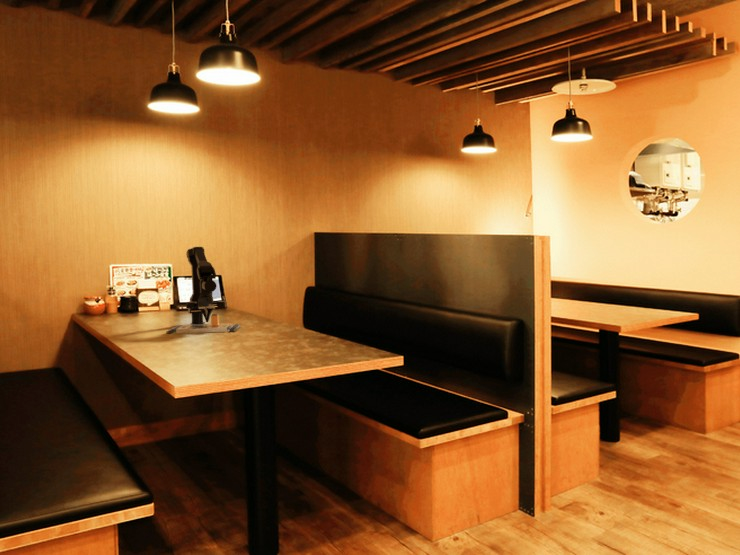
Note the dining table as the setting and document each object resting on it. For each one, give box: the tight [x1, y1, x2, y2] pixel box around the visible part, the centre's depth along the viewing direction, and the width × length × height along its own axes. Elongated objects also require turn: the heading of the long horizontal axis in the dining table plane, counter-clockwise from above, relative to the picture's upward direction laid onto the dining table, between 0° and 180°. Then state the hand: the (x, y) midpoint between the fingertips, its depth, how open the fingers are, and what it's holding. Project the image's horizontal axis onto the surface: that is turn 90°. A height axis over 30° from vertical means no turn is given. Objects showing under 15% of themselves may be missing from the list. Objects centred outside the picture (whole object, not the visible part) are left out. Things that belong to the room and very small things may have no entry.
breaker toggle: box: [210, 313, 220, 326], centre depth 308 cm, size 4×3×6 cm
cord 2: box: [228, 323, 242, 333], centre depth 309 cm, size 18×3×2 cm, turn 2°
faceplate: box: [175, 322, 234, 334], centre depth 308 cm, size 15×24×2 cm, turn 92°
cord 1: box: [165, 324, 182, 335], centre depth 308 cm, size 18×3×2 cm, turn 2°
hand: (207, 322), depth 308 cm, fingers closed
